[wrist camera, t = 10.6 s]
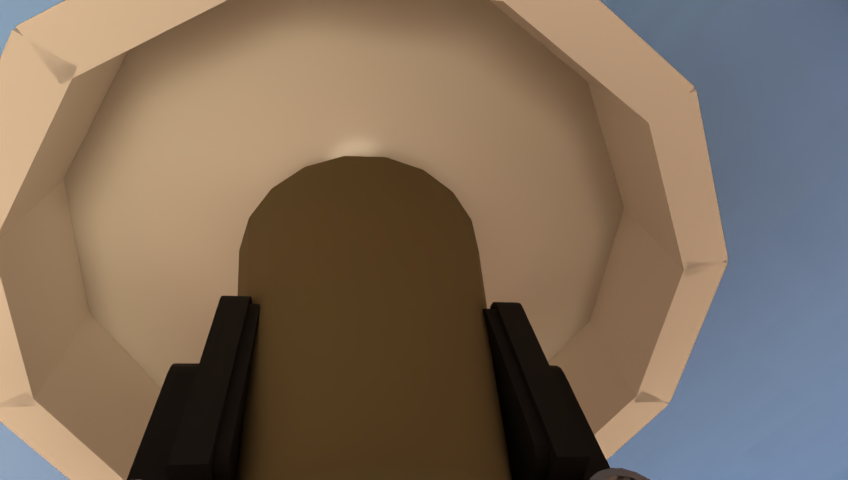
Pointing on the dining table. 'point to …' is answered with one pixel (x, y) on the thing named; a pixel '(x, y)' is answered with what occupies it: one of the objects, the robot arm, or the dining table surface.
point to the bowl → (325, 140)
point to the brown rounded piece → (367, 331)
